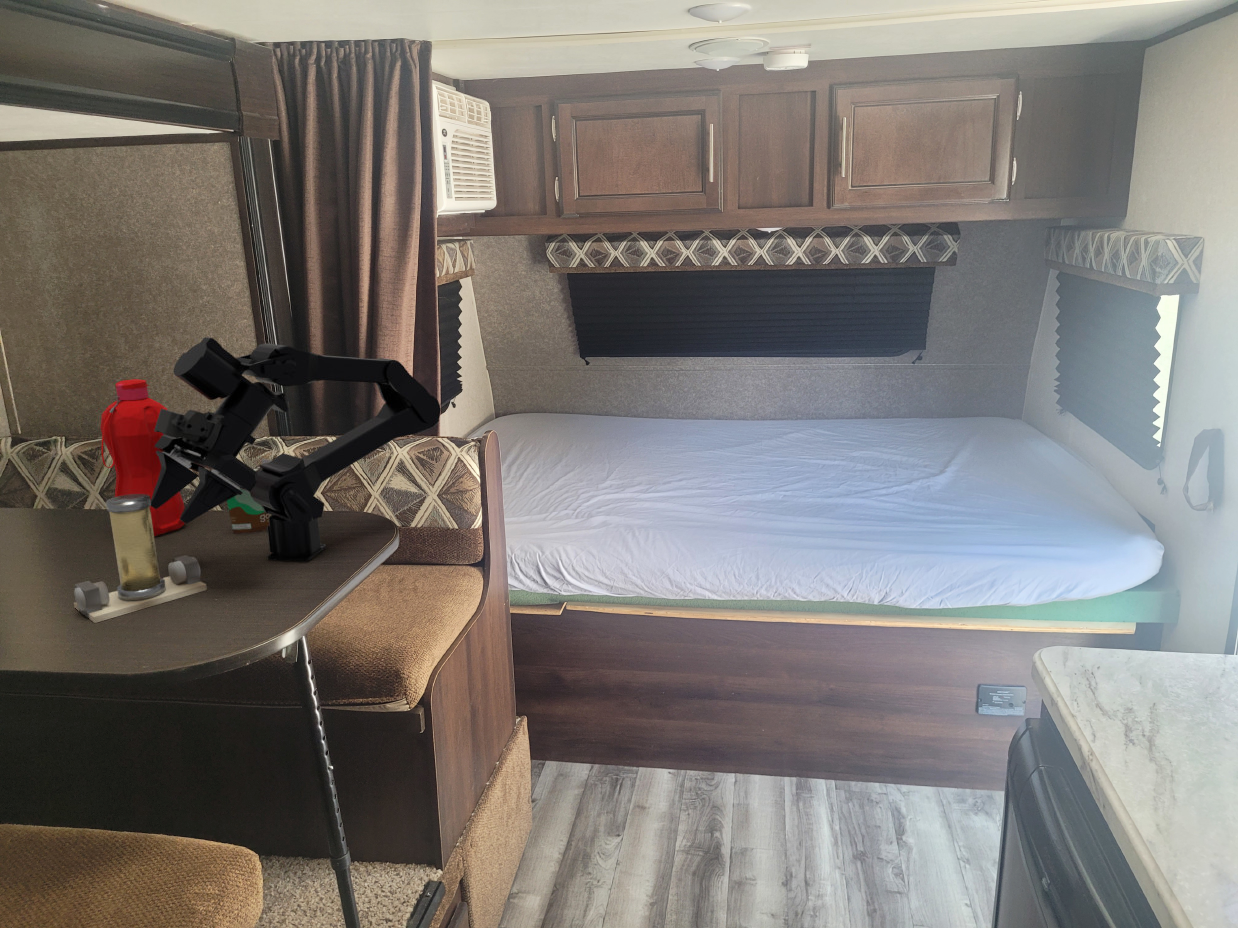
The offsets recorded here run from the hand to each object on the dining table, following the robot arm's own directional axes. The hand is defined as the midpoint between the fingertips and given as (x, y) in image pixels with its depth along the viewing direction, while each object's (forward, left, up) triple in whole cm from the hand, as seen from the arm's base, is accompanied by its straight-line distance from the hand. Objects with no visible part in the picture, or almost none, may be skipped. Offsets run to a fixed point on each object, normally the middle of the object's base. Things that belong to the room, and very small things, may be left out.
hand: (167, 514), depth 118 cm
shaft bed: (+3, +4, -11) cm, 12 cm away
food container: (+2, -27, -11) cm, 30 cm away
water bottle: (+20, -22, -11) cm, 32 cm away
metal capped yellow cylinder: (+2, +4, -10) cm, 11 cm away
